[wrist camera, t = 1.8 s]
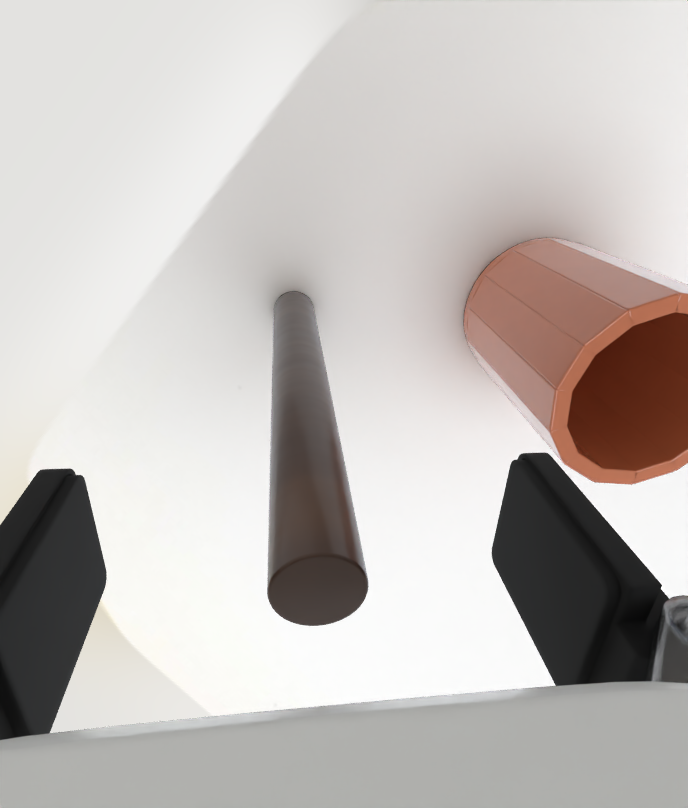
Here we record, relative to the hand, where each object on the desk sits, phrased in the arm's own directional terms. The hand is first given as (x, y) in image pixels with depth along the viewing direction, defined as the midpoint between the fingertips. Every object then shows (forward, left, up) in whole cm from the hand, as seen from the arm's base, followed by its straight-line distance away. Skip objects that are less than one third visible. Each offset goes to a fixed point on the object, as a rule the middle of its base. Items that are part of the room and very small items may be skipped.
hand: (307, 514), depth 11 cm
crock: (+8, +8, -14) cm, 18 cm away
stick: (0, 0, -14) cm, 14 cm away
